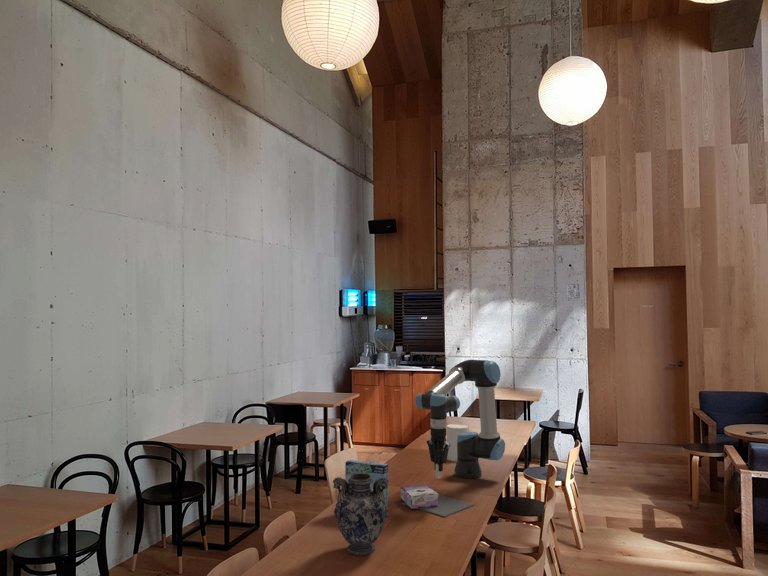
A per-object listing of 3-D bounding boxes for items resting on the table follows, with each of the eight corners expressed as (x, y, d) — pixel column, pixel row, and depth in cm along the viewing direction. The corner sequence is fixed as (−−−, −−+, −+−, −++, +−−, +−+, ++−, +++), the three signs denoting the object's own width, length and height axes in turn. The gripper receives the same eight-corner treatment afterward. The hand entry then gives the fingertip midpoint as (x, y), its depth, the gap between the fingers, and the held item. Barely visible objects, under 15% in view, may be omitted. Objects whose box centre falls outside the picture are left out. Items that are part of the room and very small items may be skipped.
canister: (443, 457, 370) (443, 424, 370) (463, 455, 374) (463, 423, 374) (452, 462, 357) (452, 428, 357) (472, 460, 361) (472, 427, 362)
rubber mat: (431, 493, 296) (431, 492, 296) (474, 505, 278) (474, 504, 278) (401, 504, 280) (401, 502, 280) (444, 517, 262) (444, 516, 262)
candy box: (400, 498, 287) (410, 509, 271) (400, 486, 287) (410, 496, 271) (427, 496, 290) (439, 506, 275) (427, 483, 291) (438, 493, 275)
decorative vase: (388, 539, 237) (387, 468, 237) (390, 559, 218) (389, 483, 219) (334, 540, 236) (334, 469, 237) (331, 560, 217) (331, 484, 218)
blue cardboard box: (344, 513, 268) (344, 461, 269) (349, 509, 273) (349, 459, 274) (384, 519, 260) (383, 466, 261) (388, 515, 265) (388, 463, 266)
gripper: (422, 426, 283) (423, 476, 282) (444, 430, 274) (444, 482, 273) (432, 424, 288) (433, 473, 287) (454, 428, 279) (454, 478, 278)
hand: (438, 477), depth 280 cm, fingers closed
